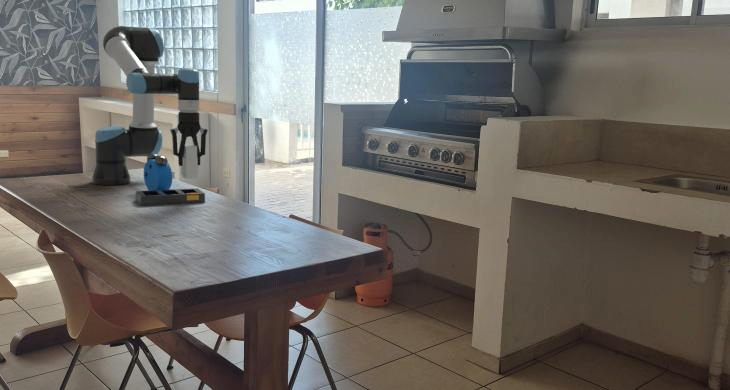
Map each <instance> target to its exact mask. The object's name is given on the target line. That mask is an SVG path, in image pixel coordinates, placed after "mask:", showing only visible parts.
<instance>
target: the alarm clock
mask: <svg viewBox="0 0 730 390" xmlns="http://www.w3.org/2000/svg"><path fill="white" fill-rule="evenodd" d="M172 171H173V170H172V167H171V165H170V163H169V160H168V159H167V157H166V156H164V155H158V154H157V155H156V154H151V155H149V156H148V157H146V162H145V164H144V167H143V180H144V184H145V187H146V188H147V191H150V190H171V189H170V188H171V187H172V185H173V184H172V183H173V172H172Z"/></svg>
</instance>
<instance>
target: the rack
mask: <svg viewBox="0 0 730 390" xmlns="http://www.w3.org/2000/svg"><path fill="white" fill-rule="evenodd" d="M135 201H136V202H137V203H138V205H139V206H141V207H143V206H161V205H162V206H163V205H164V206H165V205H181V204H184V205H185V204H198V203H199V204H201V203H203V204H204V203H206V193H205V192H204V191H202V190H201V189H199V188H179V189H178V188H177V189H175V188H174V189H169V190H150V191H149V190H135Z"/></svg>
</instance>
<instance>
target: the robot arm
mask: <svg viewBox="0 0 730 390" xmlns="http://www.w3.org/2000/svg"><path fill="white" fill-rule="evenodd" d="M164 44H165V43H164V39H163V36H162V34H161V32H160V31H159V30H158V29H156V28H152V27H150V28H149V27H141V26H139V27H137V26H126V25H120V26H116V27H113V28H111V29H109V30H108V31H107V32H106V33H105V35H104V36H103V40H102V47H103V49H104V52H105V53H106V55H108V57H109V58H111V59H114V61H115V63H116V65H118V67H119V68H120V69H121V71H122V72H123V74H124V75H125V76H126V80H125V81H126V82H125V83H126V84H125V85H126V88H127V91H128V93H130V94H132V121H131V122H130V123H129V124H128V129H126V127H125V126H123V125H116V126H115V125H114V126H107V127H105V126H104V127H102V128H99V129H97V130H96V131H95V136H94V137H95V140H94V142H95V167H94V169H93V174H92V176H91V183H92V184H95V185H98V186H99V185H100V186H101V185H102V186H118V185H119V186H120V185H127V184H130V183H131V175H130V173H129V170H128V166H127V164H126V163H127V162H126V158H132V157H133V158H135V157H146V158H147V157H148V156H149V155H151V154H156V155H158V154H159V152H160V151H161V150H162V146H163V136H162V135H163V132H162V131H161V130H160V129H159V128H158V125H157V124H156V123H155V95H177V99H178V101H177V103H178V108H177V109H178V111H179V112H178V115H177V116H178V117H177V118H178V120H177V121H178V124H177V126H176V127H174V128H171V129H170V134H171V137H172V155H173V156H175V157H177V158H178V160H177V161H178V166H179V167H181V168H180V169H181V171H180V173H181V174H180V175H181V176H182V175H185V158H184V157H183V152H184V147H185V144H186V141H187V139H188V137H191V139H192V144H193V145H195V146H197V176H198V174H199V169H198V167H199V166H200V165H201V157H203V156H206V147H207V146H206V144H207V143H206V141H207V140H206V139H207V133H208V129H207V128H204V127H202V126H201V124H200V113H199V111H200V73H199V70H197V69H187V68H180V69H178V70H177V73H155V66H156V65H157V64H158V63H159V58H162V57H163V56H164V52H165V45H164ZM178 131H179V133H180V134H181V137H180V144H179V149H178V135H177V134H178ZM198 133H200V147H199V141H198V136H197V135H198Z"/></svg>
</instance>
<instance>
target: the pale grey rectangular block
mask: <svg viewBox="0 0 730 390" xmlns="http://www.w3.org/2000/svg"><path fill="white" fill-rule="evenodd" d="M183 157H184V158H185V175H182V174H181V176H182V177H183V178H184V179H187V180H189V179H193V180H194V179H198V175H197V146H195V145H194V144H193V143H191V144H188V143H187V144H186V143H185V147H184V152H183Z"/></svg>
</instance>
